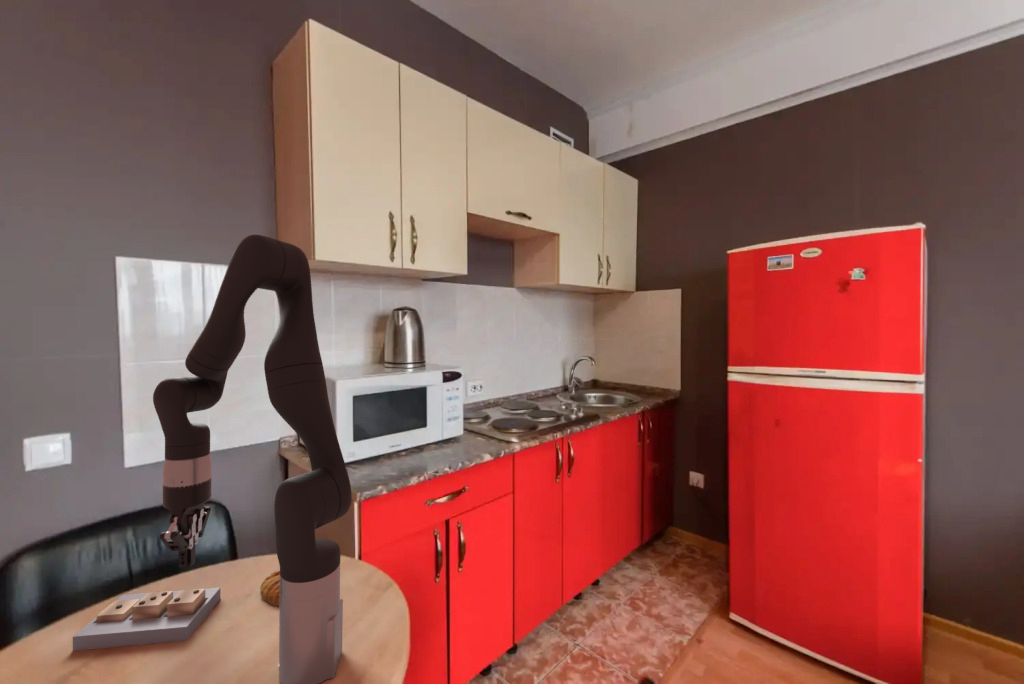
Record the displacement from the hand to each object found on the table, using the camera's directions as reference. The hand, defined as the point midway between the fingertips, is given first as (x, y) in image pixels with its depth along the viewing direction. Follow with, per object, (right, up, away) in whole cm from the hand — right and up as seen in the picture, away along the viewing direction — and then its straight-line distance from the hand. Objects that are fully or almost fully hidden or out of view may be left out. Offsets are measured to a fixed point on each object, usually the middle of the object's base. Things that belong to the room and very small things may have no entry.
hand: (187, 565), depth 82 cm
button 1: (-12, -9, -2) cm, 15 cm away
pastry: (+14, -11, +9) cm, 20 cm away
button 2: (0, -8, 0) cm, 8 cm away
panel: (-6, -11, -1) cm, 12 cm away
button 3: (-6, -8, -1) cm, 10 cm away
